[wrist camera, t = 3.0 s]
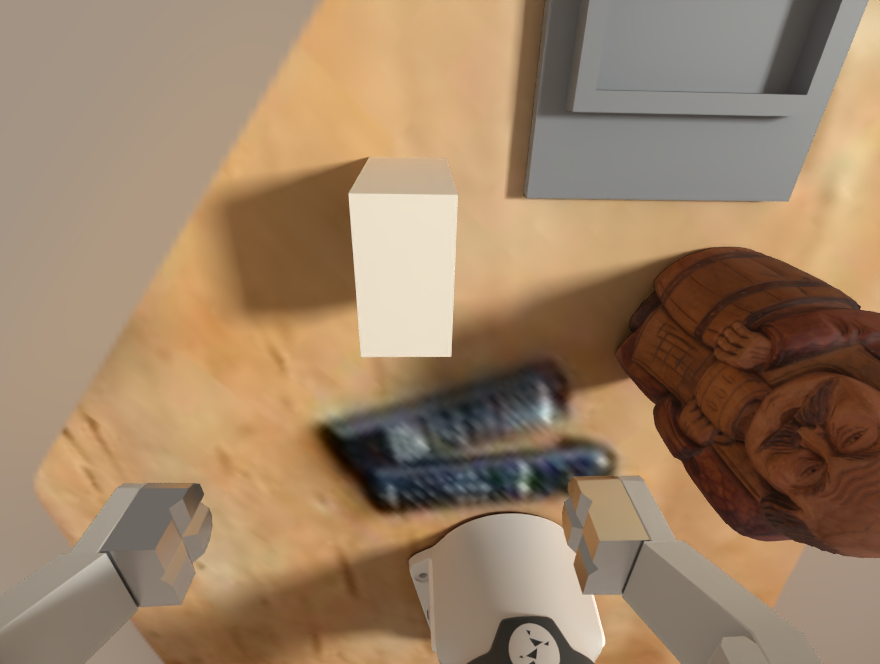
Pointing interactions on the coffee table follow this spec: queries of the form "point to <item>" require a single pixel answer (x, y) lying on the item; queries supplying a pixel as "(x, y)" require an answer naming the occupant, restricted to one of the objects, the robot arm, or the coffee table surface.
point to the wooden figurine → (766, 396)
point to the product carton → (404, 256)
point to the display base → (682, 96)
